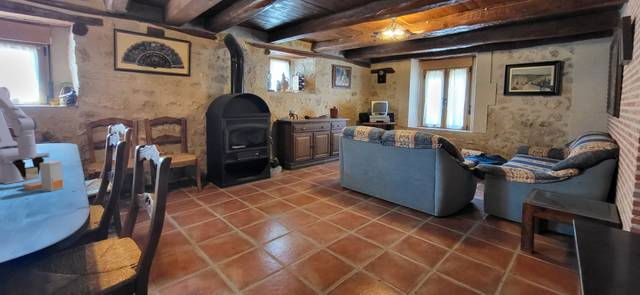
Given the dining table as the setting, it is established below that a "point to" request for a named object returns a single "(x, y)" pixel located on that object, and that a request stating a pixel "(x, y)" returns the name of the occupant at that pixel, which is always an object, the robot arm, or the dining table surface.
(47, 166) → the skincare box
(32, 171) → the ash block
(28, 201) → the dining table surface
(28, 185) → the terracotta base
